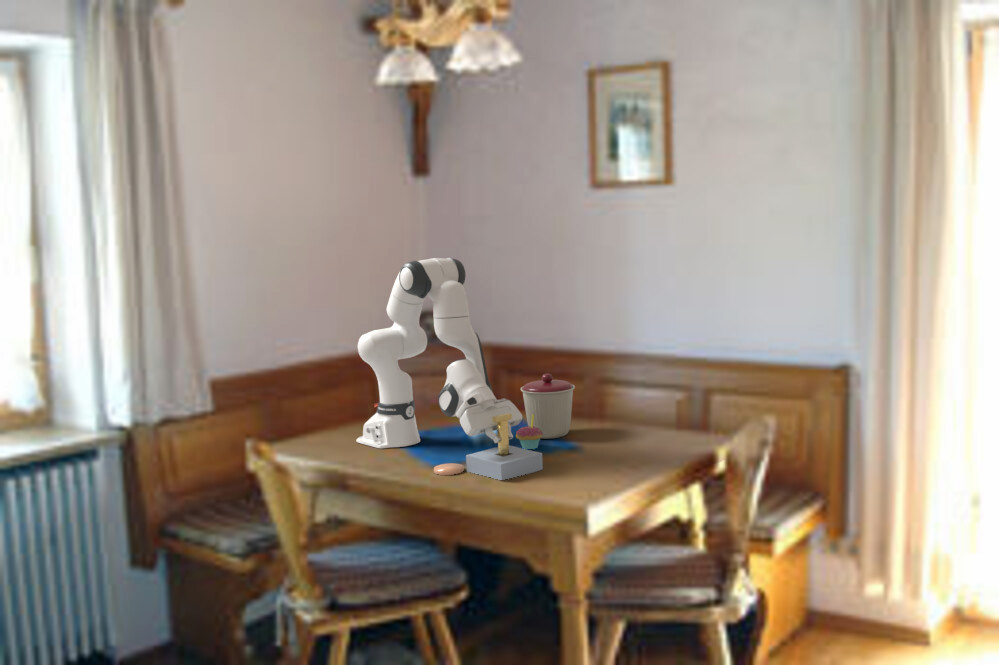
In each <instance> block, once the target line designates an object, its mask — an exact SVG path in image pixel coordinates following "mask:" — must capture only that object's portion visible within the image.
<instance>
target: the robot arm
mask: <svg viewBox="0 0 999 665" xmlns="http://www.w3.org/2000/svg"><path fill="white" fill-rule="evenodd" d="M466 277H467V276H466V269H465V266H464V264H463V262H461V261H460V260H458V259H457V258H451V257H447V258H441V257H435V258H434V257H432V258H429V259H420V260H413V261H409V262H406V263H404V264H403V265H402V267H401V268H400V270H399V273H398V274H397V276H396V279H395V280H394V284H393V286H392V288H391V292H390V296H389V298H388V302H387V305H386V309H385V310H386V313H387V316H388V318H389V320H391V321H392V322H393V324H392V326H389V327H386V328H381V329H380V328H379V329H375V330H371V331H369V332H366V333H364V334H362V335H361V336H360V337H359V339H358V342H357V353H358V355H359V357H360V358H361V359H362V361H363V362H364V363H366V364H368V365H369V366H370V367H371V368H372V370H373V372H374V374H375V376H376V379H377V383H378V385H377V386H378V392H379V395H378V396H379V401H378V402H377V403H374V404H373V405H374V408H376V412H375V413H374V414H373V415H372V416H371V417H370V418H369V419H368V420H367V421H366V422H364V424H363V428H362V429H363V430H362V436H359V437H358V438H356V443H359V444H362V445H366V446H369V447H373V448H377V449H388V448H400V447H409V446H412V445H417V444H418V443H420V442H421V438H420V434H419V430H418V426H417V419H416V415H415V411H416V407H415V406H416V403H415V400H414V397H413V396H414V395H413V394H414V393H413V379H412V376H410V375H409V374H408V373H407V372H405V371H403V370H401V368H400V366H399V360H404V359H409V358H410V359H411V358H413V357H416V356H418V355H421V354H422V353H423V352H425V351H426V348H427V346H428V336H427V334H426V331H425V330H424V329H423V327H421V326H420V319H421V318H420V317H421V313H422V311H423V307H424V303H425V300H426V298H427V297H428V298H429V299H430V300H431V301H432V307H433V309H432V310H433V312H432V313H433V314H432V315H433V328H434V332H435V335H436V337H437V339H439V340H440V341H441V343H443V344H445V345H447V346H449V347H453V348H456V349H458V350H460V351H461V352H462V353H463V354H464V357H465V358H461V359H457V360H455V361H453V362H451V363H449V365H448V366H447V368H446V379H445V383H444V386H443V388H442V389H441V390H440V392H439V394H438V396H437V403H438V406H439V408H440V410H441V412H442V413H443V414H444V415H445V416H447V417H449V418H450V417H457V418H458V419H459V423H460V425H461V428H462V430H463V431H464V433H465V434H466V435H467V436H469V437H474V436H478V435H482V434H485V435H486V436H487V437H488V438H490V439H491V440H493V442H494V444H498V443H499V442H500V441H501V437H500V436H499V435H498V434H497V433H495V432H494V431H497V423H495V422H493V416H498V415H502V414H506V413H510V414H512V419H510V420H508V436H509V441H510V440H512V439H513V438H514V435H513V433H512V427H516V426H518V425H519V424H520V423H521V422H522V420H523V414H522V412H521V411H520V410H519V408H518V407H517V406H516V405H515V404H514V403H513V402H512V401H511V400H510V399H506V398H500V399H497V397H496V395H494V392H493V389H492V386H491V383H490V381H489V380H490V379H489V375H488V371H487V365H486V360H485V356H484V351H483V346H482V342H481V338H480V336H479V335H478V333H477V332H476V331H474V329H473V326H472V323H471V319H470V308H469V302H468V297H467V293H466V288H465V287H464V284H465V281H466Z"/></svg>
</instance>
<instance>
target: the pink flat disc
mask: <svg viewBox="0 0 999 665" xmlns="http://www.w3.org/2000/svg"><path fill="white" fill-rule="evenodd" d="M463 471H464V472H465V466H464V464H461V463H454V462H453V463H452V462H451V463H450V462H449V463H442V464H438V465H436V466H434V467H433V473H434V474H435V475H437V474H439V475H438V476H445V475H446V476H455V475H454V474H456V475H459V474H458V473H460V474H462V473H464V472H463ZM461 472H462V473H461Z"/></svg>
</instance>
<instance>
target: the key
mask: <svg viewBox="0 0 999 665" xmlns="http://www.w3.org/2000/svg"><path fill="white" fill-rule="evenodd" d="M510 419H512V414H510V413H506V414H502V415H498V416H493V422H495V423H497V430H496V431H497V435H499V436H500V437H501V441H500V442H499V443H497V447H498V453H499V456H503V457H504V456H508V455H509V445H510V440H509V436H508V420H510Z"/></svg>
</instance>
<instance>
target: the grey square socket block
mask: <svg viewBox="0 0 999 665" xmlns="http://www.w3.org/2000/svg"><path fill="white" fill-rule="evenodd" d="M465 461H466V462H465V463H466V472H467V473H470V472H471V473H470V474H474V473H475V474H474V475H477V474H479V475H478V476H481V475H483V476H482V477H484V476H487V477H486V478H488V477H491V478H490V479H492V478H494V479H493V480H495V479H498V480H497V481H499V480H505V479H508V480H510V479H509V478H512V479H514V478H513V477H515V478H518V477H517V476H519V477H521V475H522V476H525V474H526V475H530V474H532V473H537V472H539V471H542V470H544V467H543V461H544V460H543V453H542V452H539V451H533V450H527V449H523V448H522V447H518V446H513V445H510V444H509V455H508V456H504V457H503V456H499V453H498V446H497V447H492V448H488V449H485V450H481V451H477V452H474V453H470V454H466V455H465ZM505 481H506V480H505Z"/></svg>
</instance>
